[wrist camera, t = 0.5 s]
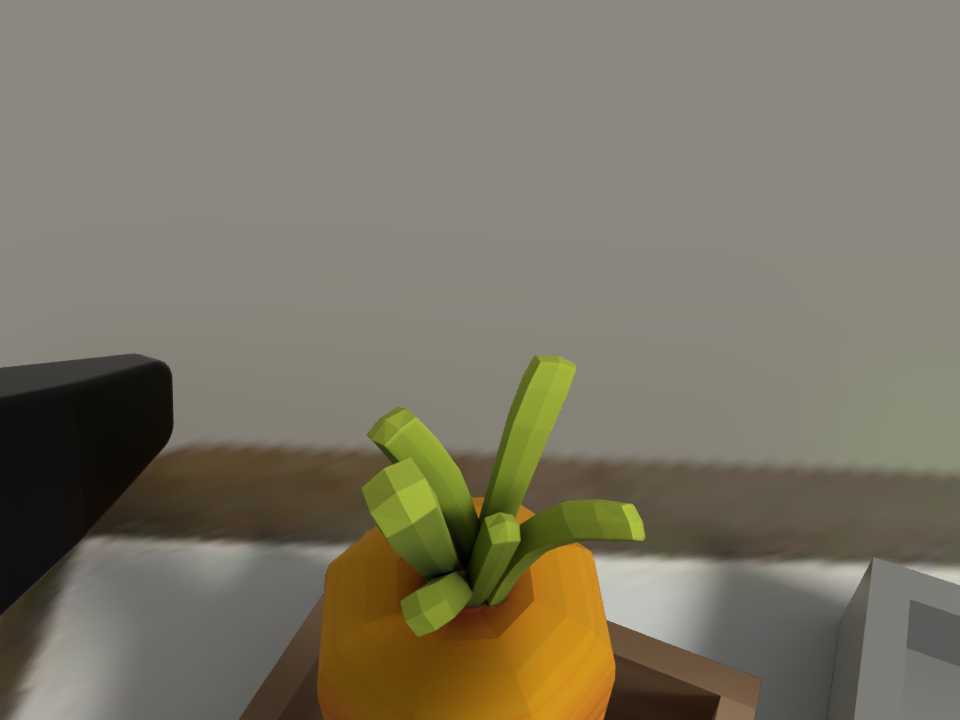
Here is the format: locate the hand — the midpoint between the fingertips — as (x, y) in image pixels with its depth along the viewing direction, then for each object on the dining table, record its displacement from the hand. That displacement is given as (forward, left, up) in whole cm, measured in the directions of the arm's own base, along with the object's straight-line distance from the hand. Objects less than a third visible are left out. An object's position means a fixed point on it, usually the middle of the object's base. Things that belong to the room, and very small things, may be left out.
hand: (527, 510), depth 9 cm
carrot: (+1, +1, -16) cm, 16 cm away
